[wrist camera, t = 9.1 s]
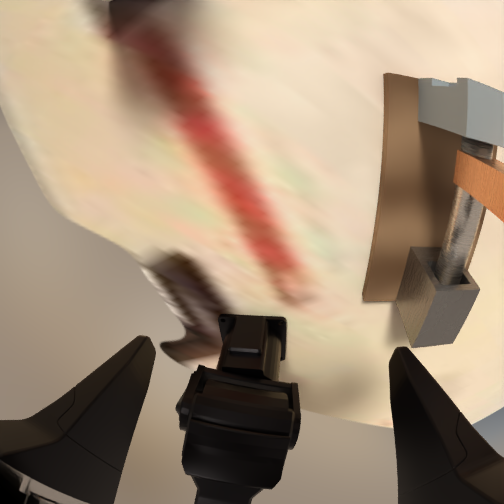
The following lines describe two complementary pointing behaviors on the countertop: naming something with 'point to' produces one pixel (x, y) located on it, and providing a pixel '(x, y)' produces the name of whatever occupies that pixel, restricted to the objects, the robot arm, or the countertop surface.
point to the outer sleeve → (432, 300)
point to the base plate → (410, 188)
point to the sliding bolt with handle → (469, 206)
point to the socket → (463, 108)
